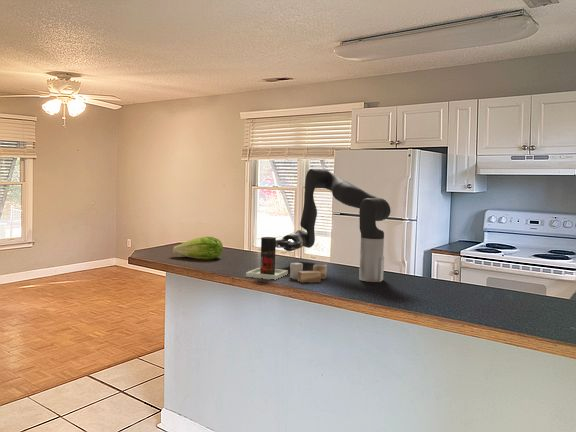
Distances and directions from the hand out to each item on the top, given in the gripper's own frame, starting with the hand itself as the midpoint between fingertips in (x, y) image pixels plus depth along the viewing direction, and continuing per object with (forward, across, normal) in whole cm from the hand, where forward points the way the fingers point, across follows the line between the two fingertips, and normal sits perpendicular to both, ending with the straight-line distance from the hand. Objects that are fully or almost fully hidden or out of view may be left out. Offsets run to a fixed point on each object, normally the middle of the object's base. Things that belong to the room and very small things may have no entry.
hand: (279, 245), depth 208 cm
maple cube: (+3, +20, +11) cm, 23 cm away
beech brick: (+13, +18, +12) cm, 25 cm away
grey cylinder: (+10, +12, +11) cm, 19 cm away
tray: (+11, 0, +11) cm, 16 cm away
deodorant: (+11, 0, +11) cm, 15 cm away
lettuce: (-13, -48, +11) cm, 51 cm away
